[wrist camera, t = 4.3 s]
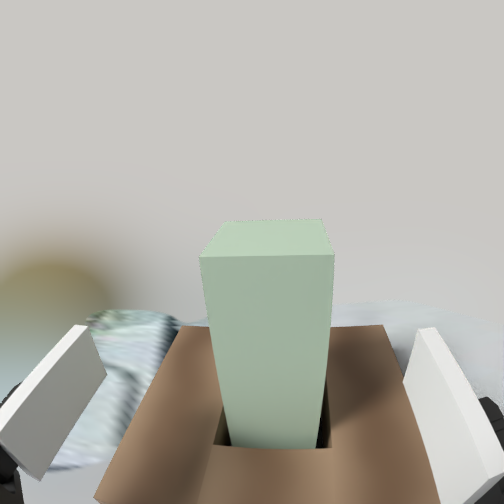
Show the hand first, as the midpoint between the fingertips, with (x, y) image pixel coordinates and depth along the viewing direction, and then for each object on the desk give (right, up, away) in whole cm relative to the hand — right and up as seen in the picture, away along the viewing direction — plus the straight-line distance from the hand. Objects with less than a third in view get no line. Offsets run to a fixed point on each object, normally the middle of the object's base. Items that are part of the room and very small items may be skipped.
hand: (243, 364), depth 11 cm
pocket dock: (+2, -8, +6) cm, 10 cm away
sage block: (+2, -8, +6) cm, 10 cm away
